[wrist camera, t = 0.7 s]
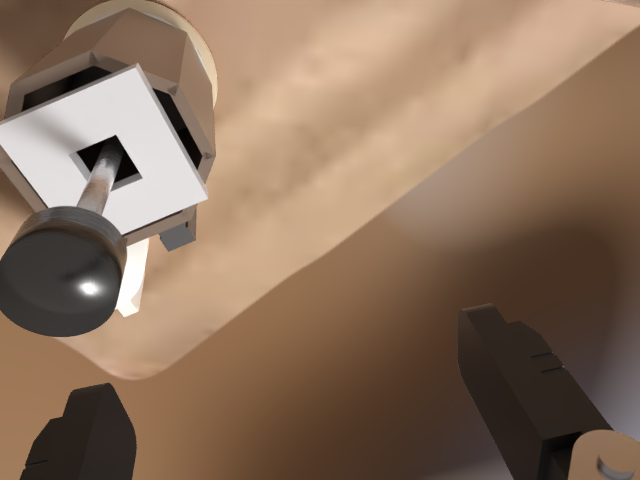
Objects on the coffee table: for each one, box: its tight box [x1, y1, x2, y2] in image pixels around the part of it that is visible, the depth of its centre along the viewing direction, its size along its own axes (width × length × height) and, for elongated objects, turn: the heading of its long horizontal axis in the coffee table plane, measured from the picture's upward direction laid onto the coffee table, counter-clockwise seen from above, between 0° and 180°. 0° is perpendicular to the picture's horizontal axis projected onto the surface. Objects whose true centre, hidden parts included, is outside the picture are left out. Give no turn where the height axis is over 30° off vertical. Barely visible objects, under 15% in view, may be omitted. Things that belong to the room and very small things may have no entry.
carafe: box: [0, 0, 217, 252], centre depth 32 cm, size 11×13×16 cm
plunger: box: [0, 135, 127, 337], centre depth 24 cm, size 4×4×17 cm
